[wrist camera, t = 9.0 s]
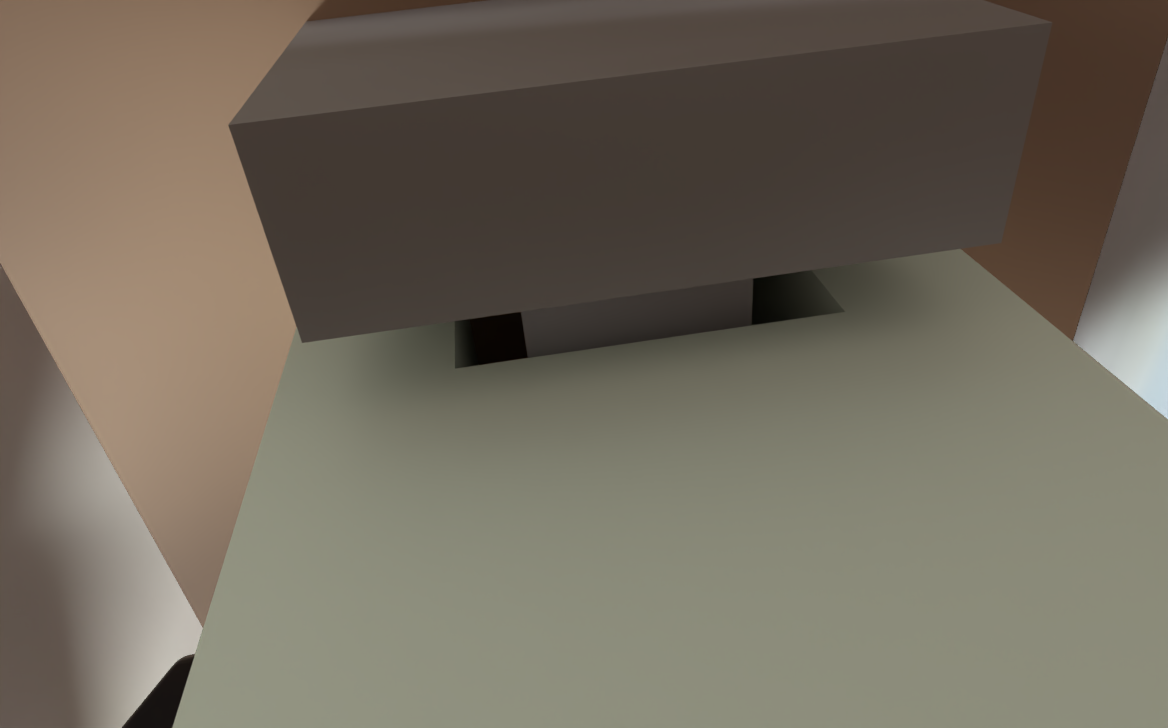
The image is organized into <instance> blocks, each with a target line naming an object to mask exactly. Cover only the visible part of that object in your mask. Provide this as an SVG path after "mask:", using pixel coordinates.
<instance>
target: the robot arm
mask: <svg viewBox="0 0 1168 728" xmlns="http://www.w3.org/2000/svg"><path fill="white" fill-rule="evenodd" d="M194 656H195V654H192V655H188V656H185V657H183V658H181V659H180V660H178V661H177V662H176V663H175V664H174V665H173V666H172V667H171V668H170V670H169V671H168V672H167V673H166V675H165V676H164V677H163V678H162V679H161V681H160V682H159V683H158V684H157V685H156V687H155V688H154V689H153V690H152V692H151V693H150V694H149V695H148V696H147V698H146V699H145V700H144V701H143V702H142V704H141V705H140V706H139V707H138V709H137V710H136V711H135V712H134V713H133V715H132V716H131V717H130V718H129V720H128V721H127V722H126V723H125V724H124V726H123V727H122V728H172V727H173V724H174V721H175V718H176V714H177V711H178V708H179V705H180V701H181V698H182V695H183V692H184V688H185V685H186V682H187V679H188V676H189V672H190V669H191V666H192V663H193V659H194Z"/></svg>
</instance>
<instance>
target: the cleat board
mask: <svg viewBox="0 0 1168 728" xmlns="http://www.w3.org/2000/svg"><path fill="white" fill-rule="evenodd" d="M1167 38H1168V0H0V264H1V265H2V267H3V269H4V271H5V273H6V274H7V276H8V278H9V280H10V282H11V283H12V285H13V287H14V289H15V291H16V292H17V294H18V296H19V298H20V300H21V301H22V303H23V305H24V307H25V309H26V310H27V312H28V314H29V316H30V318H31V319H32V321H33V323H34V325H35V327H36V328H37V330H38V332H39V334H40V336H41V337H42V339H43V341H44V343H45V345H46V346H47V348H48V350H49V352H50V354H51V355H52V357H53V359H54V361H55V363H56V364H57V366H58V368H59V370H60V372H61V373H62V375H63V377H64V379H65V381H66V382H67V384H68V386H69V388H70V390H71V391H72V393H73V395H74V397H75V398H76V400H77V402H78V404H79V406H80V407H81V409H82V411H83V413H84V415H85V416H86V418H87V420H88V422H89V424H90V425H91V427H92V429H93V431H94V433H95V434H96V436H97V438H98V440H99V442H100V443H101V445H102V447H103V449H104V451H105V452H106V454H107V456H108V458H109V460H110V461H111V463H112V465H113V467H114V469H115V470H116V472H117V474H118V476H119V478H120V479H121V481H122V483H123V485H124V487H125V488H126V490H127V492H128V494H129V496H130V497H131V499H132V501H133V503H134V505H135V506H136V508H137V510H138V512H139V514H140V515H141V517H142V519H143V521H144V523H145V524H146V526H147V528H148V530H149V532H150V533H151V535H152V537H153V539H154V541H155V542H156V544H157V546H158V548H159V550H160V551H161V553H162V555H163V557H164V559H165V560H166V562H167V564H168V566H169V568H170V569H171V571H172V573H173V575H174V577H175V578H176V580H177V582H178V584H179V586H180V587H181V589H182V591H183V593H184V595H185V596H186V598H187V600H188V602H189V604H190V605H191V607H192V609H193V611H194V612H195V614H196V616H197V618H198V620H199V621H200V623H201V625H202V627H204V624H205V621H206V618H207V614H208V611H209V608H210V605H211V601H212V598H213V595H214V592H215V588H216V585H217V582H218V579H219V576H220V572H221V569H222V566H223V563H224V559H225V556H226V553H227V550H228V547H229V543H230V540H231V537H232V534H233V530H234V527H235V524H236V521H237V517H238V514H239V511H240V508H241V505H242V501H243V498H244V495H245V492H246V488H247V485H248V482H249V479H250V476H251V472H252V469H253V466H254V463H255V459H256V456H257V453H258V450H259V447H260V443H261V440H262V437H263V434H264V430H265V427H266V424H267V421H268V417H269V414H270V411H271V408H272V405H273V401H274V398H275V395H276V392H277V388H278V385H279V382H280V379H281V376H282V372H283V369H284V366H285V363H286V359H287V356H288V353H289V350H290V347H291V343H292V340H293V337H294V334H295V330H296V327H297V330H298V332H299V335H300V338H301V341H302V343H306V342H313V341H320V340H327V339H334V338H341V337H348V336H355V335H362V334H369V333H376V332H383V331H390V330H397V329H404V328H411V327H418V326H425V325H432V324H439V323H446V322H453V321H460V320H467V319H470V323H471V328H472V334H473V339H474V344H475V349H476V354H477V360H478V365H483V364H490V363H497V362H504V361H511V360H518V359H525V358H531V357H538V356H545V355H552V354H559V353H566V352H573V351H579V350H586V349H593V348H600V347H607V346H614V345H621V344H627V343H634V342H641V341H648V340H655V339H662V338H669V337H675V336H682V335H689V334H696V333H703V332H710V331H717V330H724V329H730V328H737V327H744V326H751V323H752V298H753V278H760V277H767V276H774V275H781V274H788V273H795V272H802V271H809V270H816V269H823V268H830V267H837V266H844V265H851V264H858V263H865V262H872V261H879V260H886V259H893V258H900V257H907V256H914V255H921V254H928V253H935V252H942V251H949V250H956V249H961V250H963V251H964V252H965V253H966V254H967V255H969V256H970V257H971V258H972V259H974V260H975V261H976V262H977V263H978V264H980V265H981V266H982V267H983V268H984V269H986V270H987V271H988V272H989V273H991V274H992V275H993V276H994V277H995V278H997V279H998V280H999V281H1000V282H1001V283H1003V284H1004V285H1005V286H1006V287H1008V288H1009V289H1010V290H1011V291H1012V292H1014V293H1015V294H1016V295H1017V296H1018V297H1020V298H1021V299H1022V300H1023V301H1025V302H1026V303H1027V304H1028V305H1029V306H1031V307H1032V308H1033V309H1034V310H1035V311H1037V312H1038V313H1039V314H1040V315H1042V316H1043V317H1044V318H1045V319H1046V320H1048V321H1049V322H1050V323H1051V324H1052V325H1054V326H1055V327H1056V328H1057V329H1058V330H1060V331H1061V332H1062V333H1063V334H1065V335H1066V336H1067V337H1068V338H1069V339H1071V340H1072V341H1073V339H1074V335H1075V332H1076V329H1077V326H1078V323H1079V319H1080V316H1081V313H1082V310H1083V307H1084V303H1085V300H1086V297H1087V294H1088V291H1089V287H1090V284H1091V281H1092V278H1093V275H1094V271H1095V268H1096V265H1097V262H1098V259H1099V255H1100V252H1101V249H1102V246H1103V243H1104V239H1105V236H1106V233H1107V230H1108V227H1109V223H1110V220H1111V217H1112V214H1113V211H1114V207H1115V204H1116V201H1117V198H1118V195H1119V191H1120V188H1121V185H1122V182H1123V178H1124V175H1125V172H1126V169H1127V166H1128V162H1129V159H1130V156H1131V153H1132V150H1133V146H1134V143H1135V140H1136V137H1137V134H1138V130H1139V127H1140V124H1141V121H1142V118H1143V114H1144V111H1145V108H1146V105H1147V102H1148V98H1149V95H1150V92H1151V89H1152V86H1153V82H1154V79H1155V76H1156V73H1157V70H1158V66H1159V63H1160V60H1161V57H1162V54H1163V50H1164V47H1165V44H1166V41H1167Z"/></svg>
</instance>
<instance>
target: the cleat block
mask: <svg viewBox="0 0 1168 728" xmlns="http://www.w3.org/2000/svg"><path fill="white" fill-rule="evenodd" d="M172 728H1168V419H1167V418H1165V417H1164V416H1163V415H1162V414H1160V413H1159V412H1158V411H1157V410H1156V409H1154V408H1153V407H1152V406H1151V405H1150V404H1148V403H1147V402H1146V401H1145V400H1143V399H1142V398H1141V397H1140V396H1139V395H1137V394H1136V393H1135V392H1134V391H1133V390H1131V389H1130V388H1129V387H1128V386H1126V385H1125V384H1124V383H1123V382H1122V381H1120V380H1119V379H1118V378H1117V377H1116V376H1114V375H1113V374H1112V373H1111V372H1109V371H1108V370H1107V369H1106V368H1105V367H1103V366H1102V365H1101V364H1100V363H1099V362H1097V361H1096V360H1095V359H1094V358H1092V357H1091V356H1090V355H1089V354H1088V353H1086V352H1085V351H1084V350H1083V349H1082V348H1080V347H1079V346H1078V345H1077V344H1075V343H1074V342H1073V341H1072V340H1071V339H1069V338H1068V337H1067V336H1066V335H1065V334H1063V333H1062V332H1061V331H1060V330H1058V329H1057V328H1056V327H1055V326H1054V325H1052V324H1051V323H1050V322H1049V321H1048V320H1046V319H1045V318H1044V317H1043V316H1042V315H1040V314H1039V313H1038V312H1037V311H1035V310H1034V309H1033V308H1032V307H1031V306H1029V305H1028V304H1027V303H1026V302H1025V301H1023V300H1022V299H1021V298H1020V297H1018V296H1017V295H1016V294H1015V293H1014V292H1012V291H1011V290H1010V289H1009V288H1008V287H1006V286H1005V285H1004V284H1003V283H1001V282H1000V281H999V280H998V279H997V278H995V277H994V276H993V275H992V274H991V273H989V272H988V271H987V270H986V269H984V268H983V267H982V266H981V265H980V264H978V263H977V262H976V261H975V260H974V259H972V258H971V257H970V256H969V255H967V254H966V253H965V252H964V251H963V250H961V249H956V250H949V251H942V252H935V253H928V254H921V255H914V256H907V257H900V258H893V259H886V260H879V261H872V262H865V263H858V264H851V265H844V266H837V267H830V268H823V269H816V270H809V271H802V272H795V273H788V274H781V275H774V276H767V277H760V278H753V298H752V323H751V326H744V327H737V328H730V329H724V330H717V331H710V332H703V333H696V334H689V335H682V336H675V337H669V338H662V339H655V340H648V341H641V342H634V343H627V344H621V345H614V346H607V347H600V348H593V349H586V350H579V351H573V352H566V353H559V354H552V355H545V356H538V357H531V358H525V359H518V360H511V361H504V362H497V363H490V364H483V365H478V360H477V354H476V349H475V344H474V339H473V334H472V328H471V323H470V319H467V320H460V321H453V322H446V323H439V324H432V325H425V326H418V327H411V328H404V329H397V330H390V331H383V332H376V333H369V334H362V335H355V336H348V337H341V338H334V339H327V340H320V341H313V342H306V343H302V341H301V338H300V335H299V332H298V330H297V327H296V330H295V334H294V337H293V340H292V343H291V347H290V350H289V353H288V356H287V359H286V363H285V366H284V369H283V372H282V376H281V379H280V382H279V385H278V388H277V392H276V395H275V398H274V401H273V405H272V408H271V411H270V414H269V417H268V421H267V424H266V427H265V430H264V434H263V437H262V440H261V443H260V447H259V450H258V453H257V456H256V459H255V463H254V466H253V469H252V472H251V476H250V479H249V482H248V485H247V488H246V492H245V495H244V498H243V501H242V505H241V508H240V511H239V514H238V517H237V521H236V524H235V527H234V530H233V534H232V537H231V540H230V543H229V547H228V550H227V553H226V556H225V559H224V563H223V566H222V569H221V572H220V576H219V579H218V582H217V585H216V588H215V592H214V595H213V598H212V601H211V605H210V608H209V611H208V614H207V618H206V621H205V624H204V627H203V630H202V634H201V637H200V640H199V643H198V647H197V650H196V653H195V656H194V659H193V663H192V666H191V669H190V672H189V676H188V679H187V682H186V685H185V688H184V692H183V695H182V698H181V701H180V705H179V708H178V711H177V714H176V718H175V721H174V724H173V727H172Z"/></svg>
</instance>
